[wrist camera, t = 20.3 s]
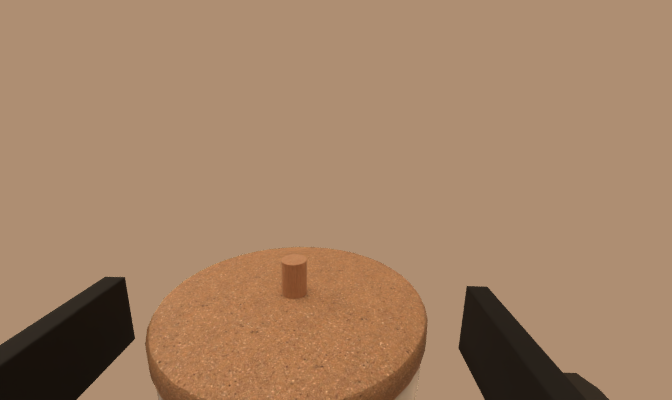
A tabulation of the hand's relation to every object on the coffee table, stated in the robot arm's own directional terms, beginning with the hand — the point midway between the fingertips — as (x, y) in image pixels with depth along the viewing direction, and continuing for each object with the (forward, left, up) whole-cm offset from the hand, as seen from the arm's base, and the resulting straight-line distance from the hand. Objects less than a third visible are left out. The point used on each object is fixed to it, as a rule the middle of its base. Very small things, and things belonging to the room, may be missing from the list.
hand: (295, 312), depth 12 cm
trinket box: (+1, -1, -8) cm, 8 cm away
